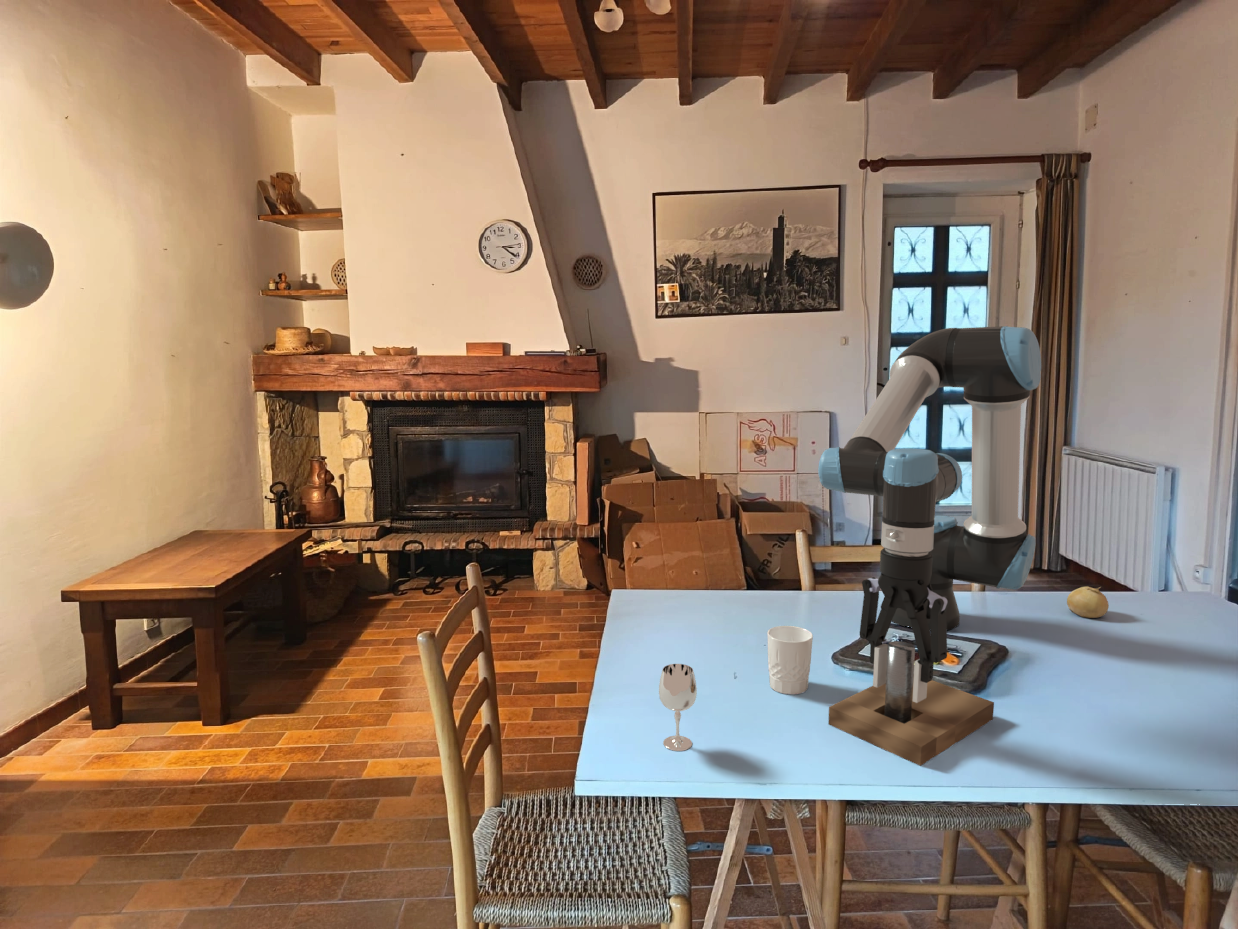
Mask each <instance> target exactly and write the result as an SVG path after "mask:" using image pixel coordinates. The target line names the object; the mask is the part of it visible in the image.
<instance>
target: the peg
mask: <svg viewBox="0 0 1238 929" xmlns="http://www.w3.org/2000/svg"><path fill="white" fill-rule="evenodd" d="M887 644H888V651H887V672H886V693H885V713H884V716H887V717H889V718H891V719H894V720H896V721H899V722H901V723H904V724H905V723H907V722H909V721H910V720H911V713H912V695H913V676H914V665H915V657H916V656H915V655H916V647H915V645H914V644H912V643H910V642H907V641H900V640H899V641H898V640H897V641H896V640H895V641H890V642H888V643H887Z"/></svg>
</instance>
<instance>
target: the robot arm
mask: <svg viewBox="0 0 1238 929" xmlns="http://www.w3.org/2000/svg"><path fill="white" fill-rule="evenodd" d="M1041 355H1042V354H1041V349H1040V344H1039V342H1038V339H1037V337H1036V335H1035V333H1034V332H1033V330H1032V329H1030V328H1028V327H1025V326H1024V327H1017V326H1008V325H1005V326H1004V325H1003V326H982V327H981V326H980V327H979V326H978V327H977V326H976V327H960V328H959V327H948V328H947V327H946V328H943V329H939V330H936V331H933V332H931V333H928V334H927V335H925V336H922V337H921V338H920V339H918V340H916V341H915V342H913V343H911V345H908V347H907V348H905V349H904V350H903V351H902V352H901V353H900V354H899V355H898V356H897V358H896V360H895V361H894V362H893V363H892V365H891V366H890V370H889V379H888V380H887V382H886V384H885V385H884V387H883V389H882V390H881V391H880V393H879V395H878V396H877V397H876V399H875V400H874V402H873V404H872V405H871V407H870V408H869V410H868V411H867V413H866V414H865V416H864V417H863V419H862V420H861V422H860V423H859V424H858V427H857V428H856V430H854V432H853V434H852V435H851V437H850V438H849V440H848V441H847V443H846V444H845V446H844V447H843V448H842V447H839V446H837V447H829V448H826V449H825V450H823V453H822V454H821V456H820V458H819V461H818V468H817V470H818V471H817V472H818V474H817V475H818V478H819V482H820V484H821V486H823V488H824V489H826V490H831V491H835V492H840V493H843V494H847V493H849V494H856V495H857V494H858V495H865V496H877V497H882V517H881V536H880V537H881V539H880V541H881V542H880V545H881V546H882V547H883V548H882V549H881V550H880V553H879V554H880V555H879V571H880V575H879V577H878V578H877V577H874V576H873V577H870V578H867V579H863V580H862V582H861V586H862V590H863V601H862V609H861V616H860V618H861V619H860V627H859V637H860V638H861V639H862V640H866V641H868V642H869V645H870V652H869V653H870V654H869V662H870V664H872V665H873V676H872V677H873V678H872V686H874V687H879V686H881V685H883V684H885V683H886V672H887V651H888V643H885V642H886V641H887V639H886V637H887V635H888V631H889V629H890V626H891V625H892V624H891V623H894V624H896V625H900V626H903V627H905V626H909V627H912V628H911V629H912V632H913V637H914V642H915V645H916V649H917V652H918V658H917V659H916V660H914V683H913V702H916V703H918V702H920V701H922V700H924V699H925V698H926V697H927V683H928V682H929V681H931V680H933V678H934V664H937V663H940V662H942V661H944V660H946V659H947V658H948V637H947V636H948V634H947V632H948V631H949V630H953V629H955V628H957V627H958V626H959V625H960V617H961V616H960V615H961V614H960V610H959V606H958V602H957V599H956V597H955V592H954V588H953V587H954V581H960V582H965V583H969V584H976V585H980V586H985V587H992V588H996V589H1000V588H1001V589H1004V590H1005V589H1006V590H1007V589H1008V590H1014V591H1015V590H1019V589H1021V588H1022V587H1023V586H1024V584H1025V583H1026V582H1027V581H1026V580H1027V579H1028V576H1029V573H1030V570H1031V567H1032V563H1033V559H1034V555H1035V552H1036V537H1035V536H1034V535H1031V534H1030V533H1028V534H1027V525H1026V523H1025V521H1023V520H1022V519H1021V518H1020V517H1019V498H1020V497H1019V496H1020V494H1019V492H1020V489H1019V488H1020V486H1019V485H1020V460H1021V459H1020V455H1021V454H1020V453H1021V452H1020V451H1021V447H1020V446H1021V421H1022V420H1021V412H1022V411H1021V410H1022V404H1024V403H1025V402H1026V401H1027V400H1028V399H1029V398H1030V397H1031V391H1033V390H1035V389H1037V388H1038V387H1039V386H1040V382H1041V380H1042V379H1041V378H1042V374H1041V372H1042V356H1041ZM948 387H949V388H962V389H963V399H964V400H965V401H966V402H967V403H968V404H969V405H970V406H971V515H970V516H969V517H968V518H966V519H965V520H964V522H963V526H962V525H958V522H959V521H957V518H956V517H954V516H949V515H936V505H937V504H936V503H939V502H941V501H944V500H947V499H948V498H950V497H951V496H952V495H953V494H954V493H955V492H957V490H958V489H959V488H960V486H961V485H962V480H963V472H962V468H961V466H960V464H959V462H958V461H957V460H956V459H955V458H954V457H952V456H950V455H948V454H946V453H941V452H940V453H939V452H937V453H935V452H934V451H932V450H930V449H923V448H914V447H913V448H909V447H907V448H904V447H903V448H897V445H899V442H900V441H901V439H902V437H903V436H904V434H905V433H906V430H907V429H908V427H909V426H910V424H911V422H912V421H913V419H914V417H915V416H916V414H917V412H918V410H920V407H921V406H922V403H924V401H925V399H926V398H927V397H929V396H932V395H933V394H935V392H936V391H937V390H938V389H939V388H948ZM880 590H881V592H882V594H883V596H884V597H883V600H882V602H881V604H880V612H879V613H878V606H879V605H878V604H879V599H880ZM877 614H878V616H877Z"/></svg>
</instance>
